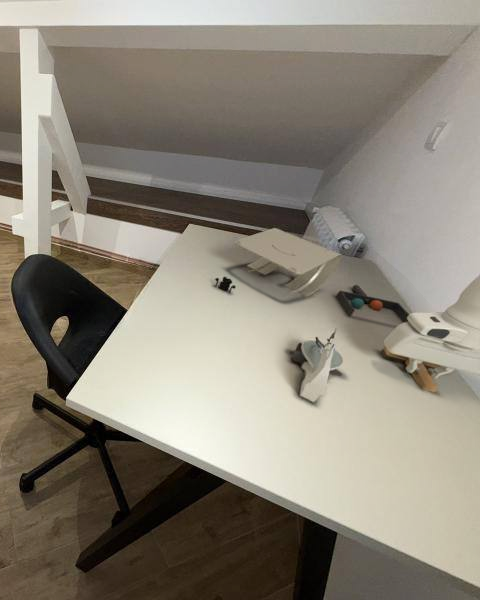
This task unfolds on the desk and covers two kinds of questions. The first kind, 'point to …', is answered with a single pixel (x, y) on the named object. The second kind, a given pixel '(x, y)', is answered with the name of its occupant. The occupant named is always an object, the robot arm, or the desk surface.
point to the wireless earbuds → (225, 284)
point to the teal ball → (357, 303)
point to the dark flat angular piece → (368, 302)
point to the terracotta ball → (376, 305)
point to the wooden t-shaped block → (422, 375)
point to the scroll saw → (316, 366)
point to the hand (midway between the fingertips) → (420, 374)
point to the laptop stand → (292, 258)
